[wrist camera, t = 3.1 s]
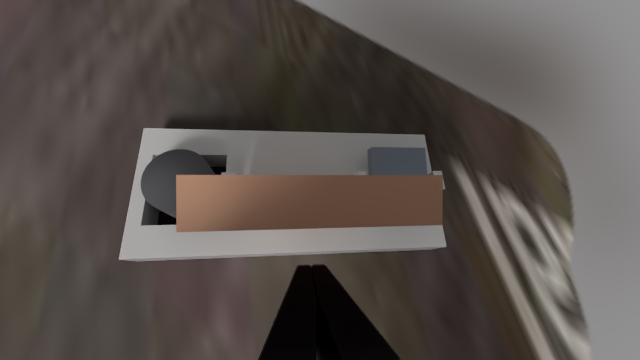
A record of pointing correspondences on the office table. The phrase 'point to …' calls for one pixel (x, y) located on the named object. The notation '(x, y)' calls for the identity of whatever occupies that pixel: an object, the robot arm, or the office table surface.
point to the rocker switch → (396, 161)
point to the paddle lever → (306, 201)
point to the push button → (170, 177)
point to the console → (268, 159)
